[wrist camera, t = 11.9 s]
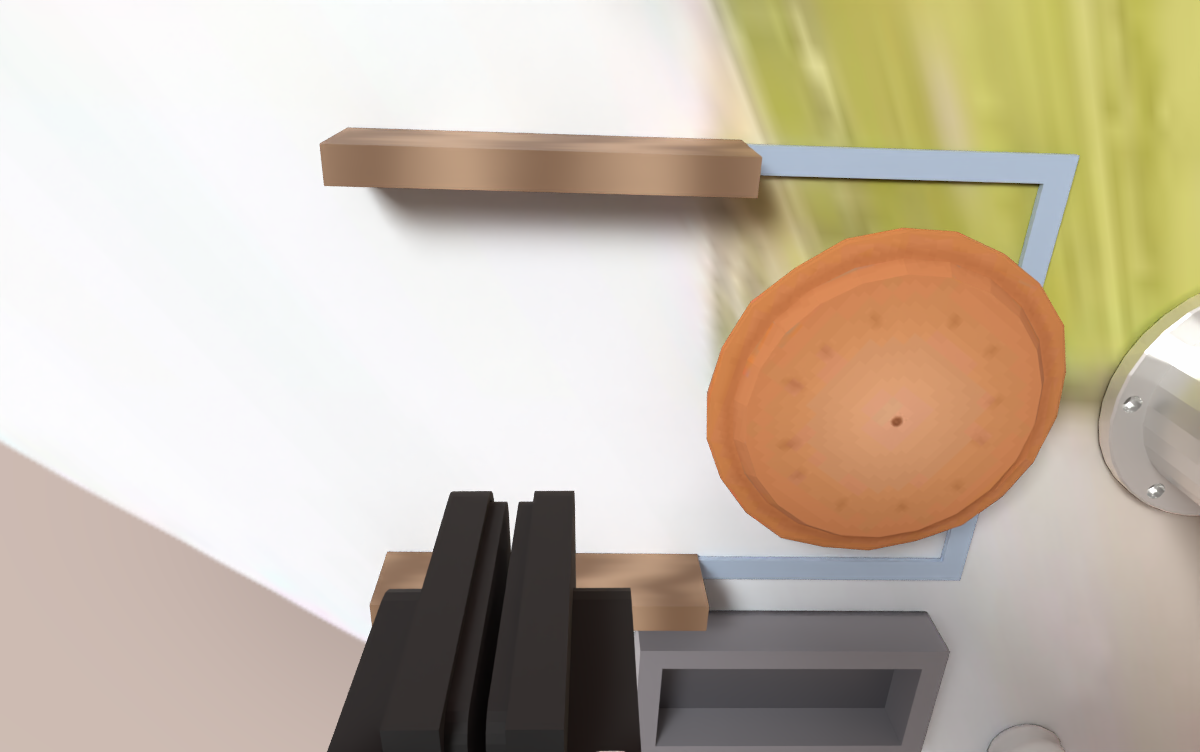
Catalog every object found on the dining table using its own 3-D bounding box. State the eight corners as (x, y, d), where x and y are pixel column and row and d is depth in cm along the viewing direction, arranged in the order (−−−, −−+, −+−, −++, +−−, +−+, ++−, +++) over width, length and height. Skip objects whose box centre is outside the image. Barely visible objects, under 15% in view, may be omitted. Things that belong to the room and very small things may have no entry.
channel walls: (741, 140, 33) (762, 157, 29) (694, 577, 43) (706, 630, 39) (347, 127, 32) (319, 143, 29) (389, 575, 42) (372, 629, 38)
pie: (669, 248, 35) (683, 285, 31) (1027, 174, 34) (1096, 201, 30) (717, 532, 42) (735, 597, 37) (1019, 476, 41) (1075, 536, 36)
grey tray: (926, 611, 44) (949, 651, 41) (898, 717, 48) (918, 760, 45) (636, 610, 43) (640, 651, 41) (628, 717, 47) (632, 761, 44)
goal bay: (1075, 154, 34) (1079, 155, 34) (957, 576, 43) (960, 580, 43) (717, 142, 33) (718, 144, 33) (676, 574, 42) (676, 578, 42)
